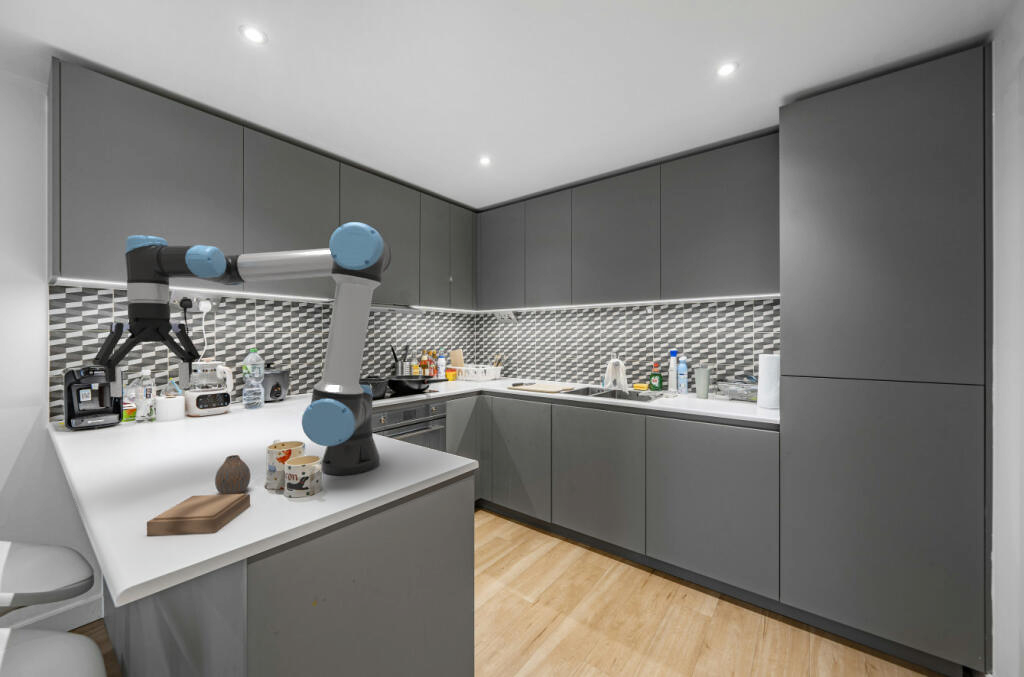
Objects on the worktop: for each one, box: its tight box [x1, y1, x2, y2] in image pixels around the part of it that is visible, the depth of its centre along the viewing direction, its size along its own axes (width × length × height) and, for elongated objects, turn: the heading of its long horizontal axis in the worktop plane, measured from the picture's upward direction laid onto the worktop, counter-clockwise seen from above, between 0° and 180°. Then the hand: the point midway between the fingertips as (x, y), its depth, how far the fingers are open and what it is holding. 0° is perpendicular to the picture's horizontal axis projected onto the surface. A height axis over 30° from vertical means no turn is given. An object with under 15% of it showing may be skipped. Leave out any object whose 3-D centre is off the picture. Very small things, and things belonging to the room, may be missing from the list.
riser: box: [146, 493, 251, 537], centre depth 83 cm, size 12×12×3 cm
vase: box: [214, 454, 251, 495], centre depth 96 cm, size 7×7×9 cm
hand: (152, 392), depth 97 cm, fingers open, 13 cm apart
